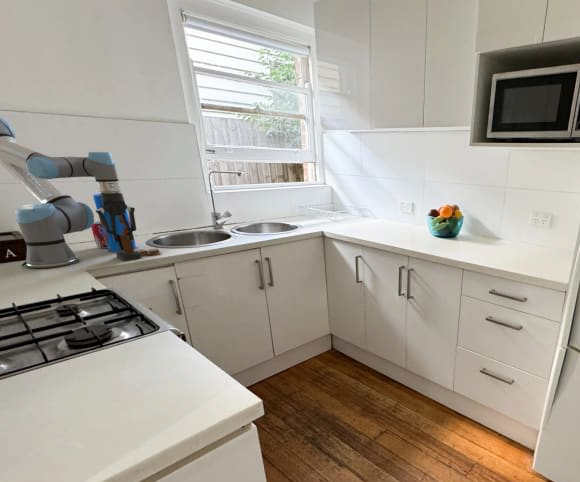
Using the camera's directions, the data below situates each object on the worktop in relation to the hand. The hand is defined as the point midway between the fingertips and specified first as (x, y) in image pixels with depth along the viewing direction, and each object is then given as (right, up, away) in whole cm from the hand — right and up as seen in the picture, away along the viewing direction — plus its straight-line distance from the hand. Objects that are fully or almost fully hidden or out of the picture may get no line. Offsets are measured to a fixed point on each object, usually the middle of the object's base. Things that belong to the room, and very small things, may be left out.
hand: (126, 248), depth 165 cm
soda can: (-23, +3, +18) cm, 30 cm away
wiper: (0, -4, +2) cm, 4 cm away
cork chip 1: (+2, -2, +6) cm, 7 cm away
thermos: (-14, +2, +16) cm, 21 cm away
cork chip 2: (+6, -1, +8) cm, 11 cm away
